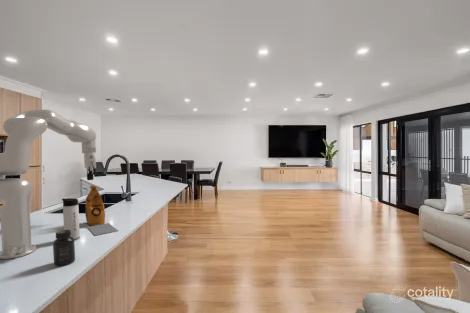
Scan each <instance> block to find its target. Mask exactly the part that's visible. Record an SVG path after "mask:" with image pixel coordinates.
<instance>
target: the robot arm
mask: <svg viewBox="0 0 470 313" xmlns="http://www.w3.org/2000/svg"><path fill="white" fill-rule="evenodd" d="M2 129H3V131H4V132H5V134H7V135H8V136H7V138H6V141H5V147H4V152H0V202H2V203H3V202H4V204H3V205H2V207H1V210H0V234H1V235H0V236H1V237H0V238H1V251H0V260H9V259H15V258H20V257H24V256H26V255H30V254H32V253H33V252H35V251H36V250H37V246H36V245H34V244H32V228H31V227H32V225H31V223H32V221H31V220H32V219H31V199H32V198H31V197H32V193H33V186H32V184H31V182H30V181H28V180H26V179H25V178H19V177H18V178H16V177H15V178H10V177H9V178H6V176H19V175H20V176H21V175H25V174H27V173H28V171H29V169H30V164H31V156H32V155H31V154H32V145H33V142H34V141H35V140H36V139H37V138H38V137H39V136H41V135H42V134H44V133H45V132H47V129H48V130H50V131H53V132H55V133H57V134H59V135H63V136H68V139H69V140H70V141H71V142H72V143H81V153H82V154H83V160H84V162H83V164H84V168H85V169H86V180H87V181H93V180H94V169H96V168H97V162H96V154H95V153H96V152H97V149H96V148H97V147H96V139H97V133H96V131H95V130H94V129H93V128H91V127H89V126H88V125H86V124H83V123H79V122H75V121H72V120H69V119H66V118H65V117H64V116H62V115H60V114H58V113H57V112H55V111H53V110H52V109H51V110H50V109H29V110H26V111H23V112H21V113H17V114H15V115H13V116H10V117H8V118H7V119H5V120H4V122H3V124H2Z"/></svg>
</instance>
